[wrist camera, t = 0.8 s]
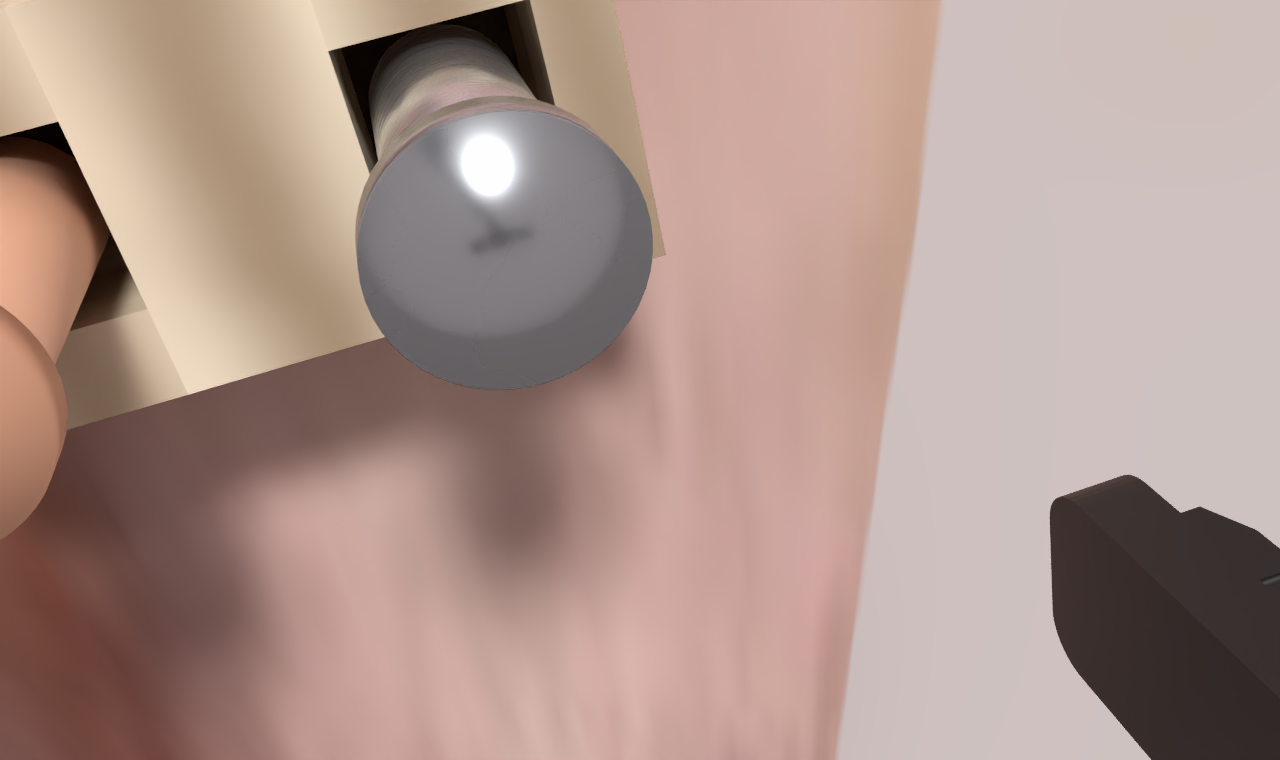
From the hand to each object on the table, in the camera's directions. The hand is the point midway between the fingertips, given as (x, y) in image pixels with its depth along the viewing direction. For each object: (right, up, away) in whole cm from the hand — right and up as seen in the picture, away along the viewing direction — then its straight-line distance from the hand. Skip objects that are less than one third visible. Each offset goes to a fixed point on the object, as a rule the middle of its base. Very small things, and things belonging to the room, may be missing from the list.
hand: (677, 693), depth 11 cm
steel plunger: (-5, +10, +16) cm, 19 cm away
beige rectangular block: (-11, +10, +19) cm, 24 cm away
